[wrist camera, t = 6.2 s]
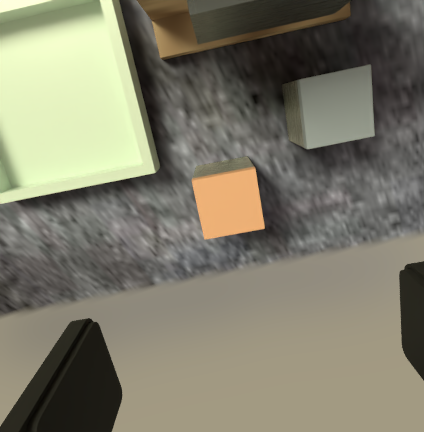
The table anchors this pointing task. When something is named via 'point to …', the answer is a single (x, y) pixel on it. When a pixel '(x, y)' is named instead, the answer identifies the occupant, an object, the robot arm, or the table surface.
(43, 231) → the table surface
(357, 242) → the table surface
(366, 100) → the block
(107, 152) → the tray
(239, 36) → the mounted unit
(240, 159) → the block
